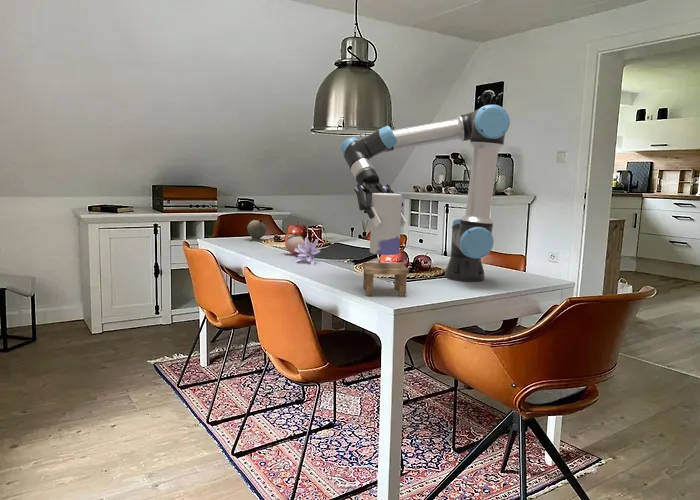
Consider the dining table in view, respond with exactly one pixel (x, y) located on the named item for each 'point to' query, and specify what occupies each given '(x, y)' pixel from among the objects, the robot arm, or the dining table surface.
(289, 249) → the decorative fruit
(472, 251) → the robot arm
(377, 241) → the container
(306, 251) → the water lily
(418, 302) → the dining table surface
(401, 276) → the stool
